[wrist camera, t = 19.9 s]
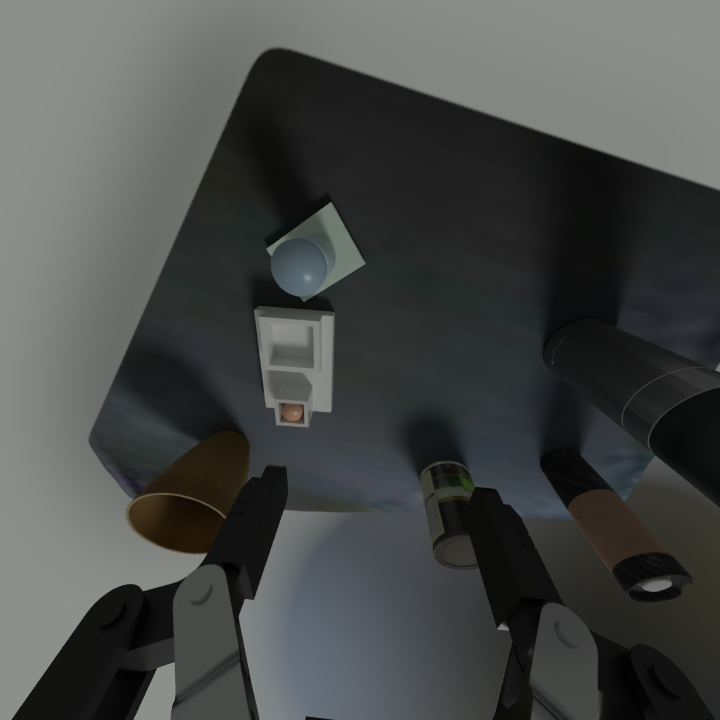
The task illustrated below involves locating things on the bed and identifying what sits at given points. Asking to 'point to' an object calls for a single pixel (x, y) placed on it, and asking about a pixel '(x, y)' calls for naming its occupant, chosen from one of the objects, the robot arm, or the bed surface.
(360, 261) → the mat
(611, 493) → the travel mug
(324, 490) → the bed surface
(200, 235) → the bed surface
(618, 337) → the robot arm
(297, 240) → the blue-grey elongated rounded piece
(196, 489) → the plant pot
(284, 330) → the housing
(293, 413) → the plunger
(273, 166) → the bed surface
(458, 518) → the coffee can
